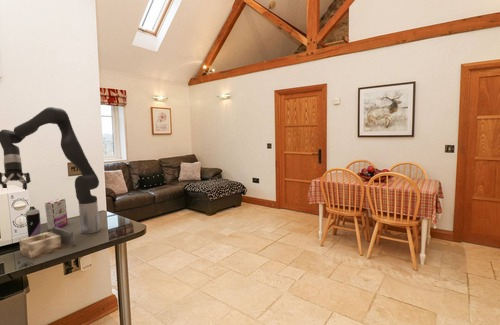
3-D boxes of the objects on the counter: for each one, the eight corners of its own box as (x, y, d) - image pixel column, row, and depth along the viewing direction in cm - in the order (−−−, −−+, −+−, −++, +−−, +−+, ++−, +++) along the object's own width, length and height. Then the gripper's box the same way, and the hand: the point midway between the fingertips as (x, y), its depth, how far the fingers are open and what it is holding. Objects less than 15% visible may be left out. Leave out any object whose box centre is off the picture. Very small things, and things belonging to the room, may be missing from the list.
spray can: (31, 247, 136) (27, 208, 134) (27, 245, 139) (23, 207, 137) (44, 243, 141) (40, 205, 139) (39, 241, 144) (36, 204, 142)
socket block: (31, 257, 122) (30, 244, 122) (20, 252, 128) (19, 239, 128) (61, 247, 132) (60, 235, 132) (49, 243, 139) (48, 231, 138)
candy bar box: (60, 223, 173) (58, 198, 171) (68, 223, 173) (65, 198, 171) (47, 230, 162) (44, 203, 160) (55, 229, 162) (52, 202, 160)
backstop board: (33, 261, 121) (31, 244, 120) (17, 253, 129) (15, 237, 129) (74, 247, 135) (72, 232, 134) (57, 241, 144) (55, 226, 143)
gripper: (-1, 160, 148) (1, 189, 145) (30, 161, 160) (33, 188, 157) (-7, 165, 152) (-4, 193, 149) (25, 165, 164) (27, 191, 161)
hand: (15, 190), depth 153 cm, fingers open, 8 cm apart
